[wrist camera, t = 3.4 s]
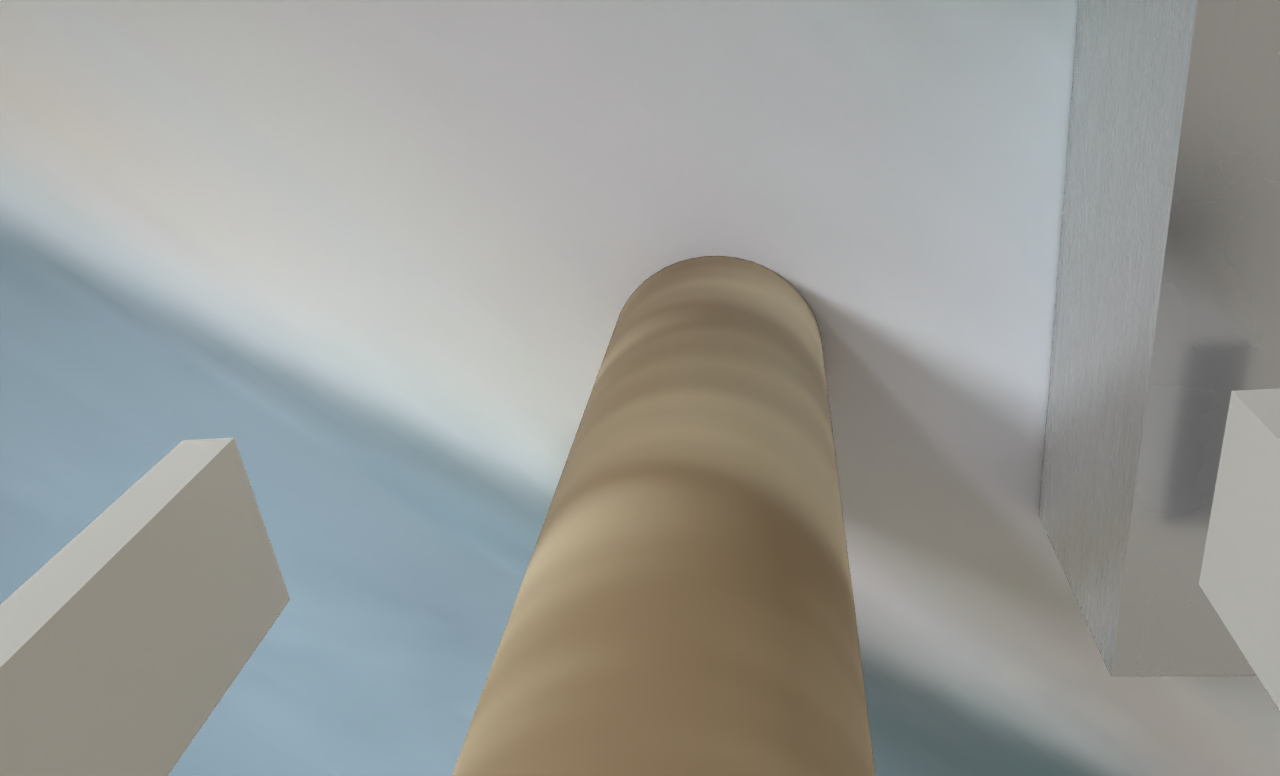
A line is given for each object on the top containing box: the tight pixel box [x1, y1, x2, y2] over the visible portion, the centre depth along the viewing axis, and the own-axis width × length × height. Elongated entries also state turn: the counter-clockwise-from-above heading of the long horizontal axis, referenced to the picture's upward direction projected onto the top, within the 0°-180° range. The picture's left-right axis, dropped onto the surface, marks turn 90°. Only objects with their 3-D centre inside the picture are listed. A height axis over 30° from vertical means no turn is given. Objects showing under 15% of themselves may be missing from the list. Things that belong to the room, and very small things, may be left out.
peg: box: [452, 256, 875, 776], centre depth 10 cm, size 4×4×14 cm
